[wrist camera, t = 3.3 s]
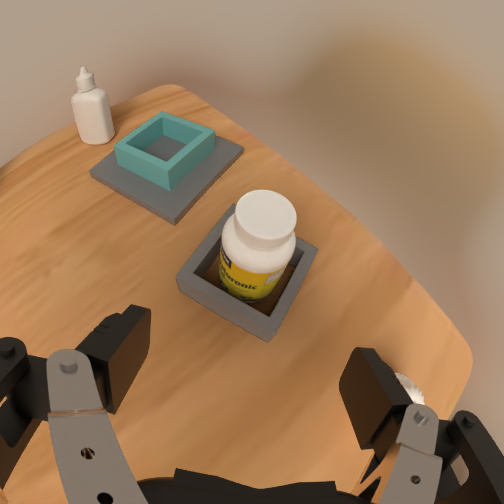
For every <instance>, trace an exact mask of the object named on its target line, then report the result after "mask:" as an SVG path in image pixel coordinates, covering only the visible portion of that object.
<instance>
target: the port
mask: <svg viewBox="0 0 504 504" xmlns="http://www.w3.org/2000/svg"><path fill="white" fill-rule="evenodd" d="M243 150H244V147H242V146H240V145H237V144H235V143H233V142H230V141H228V140H226V139H223V138H221V137H218V136H216V135H215V131H214V130H212V129H209V128H207V127H204V126H201V125H199V124H196V123H193V122H191V121H188V120H185V119H182V118H179V117H177V116H174V115H171V114H168V113H165V112H160V113H159V114H157V115H156V116H154V117H153V118H151V119H150V120H148V121H147V122H145V123H144V124H142V125H141V126H139V127H138V128H137V129H135V130H134V131H133V132H131V133H130V134H128V135H127V136H126V137H124V138H123V139H122V140H120V141H119V142H118V143H116V144H115V145H114V151H112V152H111V153H110V154H109V155H107V156H106V157H105V158H104V159H103V160H101V161H100V162H99V163H98V164H97V165H96V166H94V167H93V168H92V169H91V170H90V171H89V172H90V175H91V177H92V178H94V179H96V180H98V181H99V182H101V183H103V184H104V185H106V186H108V187H109V188H111V189H113V190H115V191H116V192H118V193H120V194H121V195H123V196H125V197H126V198H128V199H130V200H132V201H133V202H135V203H137V204H138V205H140V206H142V207H144V208H145V209H147V210H149V211H151V212H152V213H154V214H156V215H158V216H159V217H161V218H163V219H164V220H166V221H168V222H170V223H171V224H173V225H176V224H177V223H178V222H179V221H180V219H181V218H182V217H183V216H184V215H185V214H186V213H187V212H188V210H189V209H190V208H191V207H192V206H193V205H194V204H195V203H196V202H197V201H198V199H199V198H200V197H201V196H202V195H203V194H204V193H205V192H206V191H207V190H208V189H209V188H210V187H211V185H212V184H213V183H214V182H215V181H216V180H217V179H218V178H219V177H220V176H221V175H222V174H223V173H224V172H225V171H226V170H227V169H228V168H229V167H230V166H231V165H232V164H233V163H234V162H235V161H236V160H237V159H238V158H239V157H240V156H241V155H242V154H243Z"/></svg>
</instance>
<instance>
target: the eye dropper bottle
mask: <svg viewBox="0 0 504 504" xmlns="http://www.w3.org/2000/svg"><path fill="white" fill-rule="evenodd" d="M76 84H77V88H78V92H77V93H75V95H73V97H72V98H71V104H72V109H73V113H74V117H75V121H76V124H77V128H78V131H79V135H80V138H81V140H82V141H83V142H85V143H87V144H92V145H98V144H105V143H108V142H109V141H110V140H111V139H112V138H113V136H114V135H115V131H114V126H113V121H112V116H111V111H110V105H109V100H108V95H107V93H106V92H105V91H104V90H102V89H101V88H98V87H95V81H94V75H93V73H92V72H88V71H87V69H86V66H82V67H80V75H79V76H78V77H77V78H76Z"/></svg>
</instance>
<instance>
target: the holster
mask: <svg viewBox="0 0 504 504" xmlns="http://www.w3.org/2000/svg"><path fill="white" fill-rule="evenodd" d="M235 208H236V205H235V204H232V205H231V207H230V208H229V209H228V210H227V212H226V213H225V214H224V215H223V216H222V218H221V219H220V220H219V221H218V223H217V224H216V225H215V226H214V228H213V229H212V230H211V231H210V233H209V234H208V235H207V236H206V238H205V239H204V240H203V242H202V243H201V244H200V245H199V247H198V248H197V249H196V251H195V252H194V253H193V254H192V256H191V257H190V258H189V260H188V261H187V262H186V263H185V265H184V266H183V267H182V269H181V270H180V271H179V273H178V274H177V275H176V280H177V284H178V288H179V291H180V292H182V293H184V294H185V295H187V296H188V297H190V298H192V299H193V300H195V301H196V302H198V303H200V304H201V305H203V306H205V307H206V308H208V309H210V310H211V311H213V312H215V313H216V314H218V315H220V316H221V317H223V318H225V319H227V320H228V321H230V322H232V323H233V324H235V325H237V326H239V327H240V328H242V329H244V330H246V331H248V332H249V333H251V334H253V335H255V336H256V337H258V338H260V339H262V340H264V341H266V342H267V343H268V342H269V341H270V340H271V339H272V338H273V337H274V336H275V335H276V333H277V331H278V329H279V327H280V325H281V323H282V321H283V319H284V317H285V316H286V314H287V312H288V310H289V308H290V306H291V304H292V302H293V300H294V298H295V296H296V294H297V292H298V290H299V288H300V286H301V284H302V282H303V280H304V278H305V276H306V274H307V272H308V270H309V268H310V266H311V264H312V261H313V259H314V257H315V255H316V253H317V251H318V248H316V247H314V246H312V245H310V244H309V243H307V242H305V241H303V240H301V239H299V238H298V237H296V236H295V237H296V245H295V250H294V252H293V255H292V257H291V259H290V261H289V262H288V263H289V264H291V265H293V266H295V269H294V271H293V273H292V275H291V277H290V279H289V281H288V283H287V284H286V286H285V288H284V290H283V292H282V294H281V296H280V297H279V299H278V301H277V303H276V305H275V307H274V308H273V310H272V312H271V314H270V316H269V317H268V316H266V315H265V314H263V313H261V312H259V311H257V310H256V309H254V308H252V307H250V306H248V305H247V304H245V303H243V302H241V301H240V300H238V299H236V298H234V297H233V296H231V295H229V294H227V293H226V292H224V291H222V290H221V289H219V288H217V287H215V286H214V285H212V284H210V283H209V282H207V281H205V280H204V279H202V276H203V275H204V274H205V272H206V271H207V269H208V268H209V267H210V265H211V264H212V263H213V261H214V260H215V258H216V257H217V256H218V254H219V253H220V248H221V237H222V231H223V228H224V225H225V223H226V221H227V220H228V218H229V217H230V216H231V215H233V214H234V213H235Z"/></svg>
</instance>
